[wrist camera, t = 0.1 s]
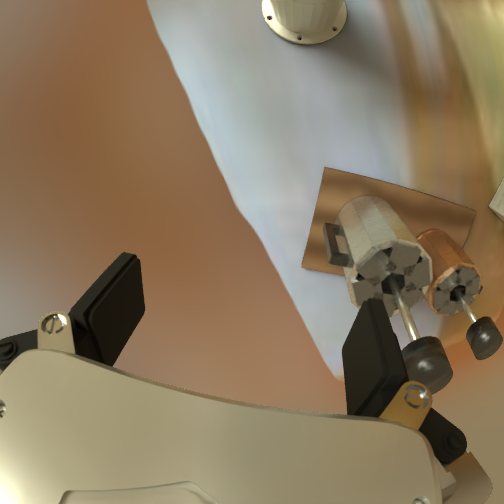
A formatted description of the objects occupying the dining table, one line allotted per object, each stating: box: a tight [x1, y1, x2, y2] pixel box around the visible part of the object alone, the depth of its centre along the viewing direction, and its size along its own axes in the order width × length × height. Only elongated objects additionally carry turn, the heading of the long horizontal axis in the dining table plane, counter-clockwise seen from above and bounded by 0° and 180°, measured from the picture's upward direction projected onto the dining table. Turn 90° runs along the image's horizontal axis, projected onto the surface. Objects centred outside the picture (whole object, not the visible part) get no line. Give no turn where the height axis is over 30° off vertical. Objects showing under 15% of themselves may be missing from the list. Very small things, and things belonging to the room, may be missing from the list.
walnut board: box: [302, 167, 476, 276], centre depth 47 cm, size 18×30×1 cm, turn 82°
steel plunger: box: [358, 247, 453, 395], centre depth 27 cm, size 8×8×19 cm
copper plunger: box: [437, 269, 503, 360], centre depth 32 cm, size 6×6×15 cm
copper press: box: [416, 229, 483, 316], centre depth 41 cm, size 10×12×13 cm
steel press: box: [323, 195, 433, 317], centre depth 39 cm, size 11×13×17 cm
